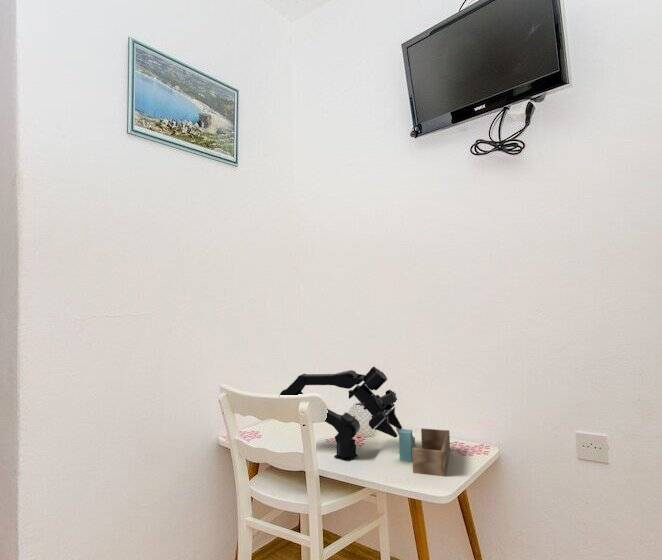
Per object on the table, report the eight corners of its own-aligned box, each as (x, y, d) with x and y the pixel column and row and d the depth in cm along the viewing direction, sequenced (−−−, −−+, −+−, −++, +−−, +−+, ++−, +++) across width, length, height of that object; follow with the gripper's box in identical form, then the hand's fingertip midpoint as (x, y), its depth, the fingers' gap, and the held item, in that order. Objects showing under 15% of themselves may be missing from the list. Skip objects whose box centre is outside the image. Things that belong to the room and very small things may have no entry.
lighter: (415, 448, 162) (414, 427, 162) (415, 449, 160) (414, 428, 160) (396, 447, 163) (396, 426, 163) (396, 449, 161) (395, 427, 162)
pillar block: (399, 464, 146) (398, 432, 146) (401, 460, 150) (400, 429, 150) (411, 465, 144) (410, 433, 145) (413, 461, 148) (412, 430, 149)
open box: (413, 477, 135) (412, 449, 135) (422, 452, 156) (421, 428, 157) (445, 481, 131) (444, 452, 132) (450, 455, 153) (449, 430, 154)
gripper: (377, 389, 142) (410, 425, 138) (388, 379, 160) (418, 410, 155) (355, 411, 144) (387, 447, 140) (368, 399, 162) (398, 430, 158)
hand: (399, 432), depth 148 cm, fingers open, 9 cm apart
